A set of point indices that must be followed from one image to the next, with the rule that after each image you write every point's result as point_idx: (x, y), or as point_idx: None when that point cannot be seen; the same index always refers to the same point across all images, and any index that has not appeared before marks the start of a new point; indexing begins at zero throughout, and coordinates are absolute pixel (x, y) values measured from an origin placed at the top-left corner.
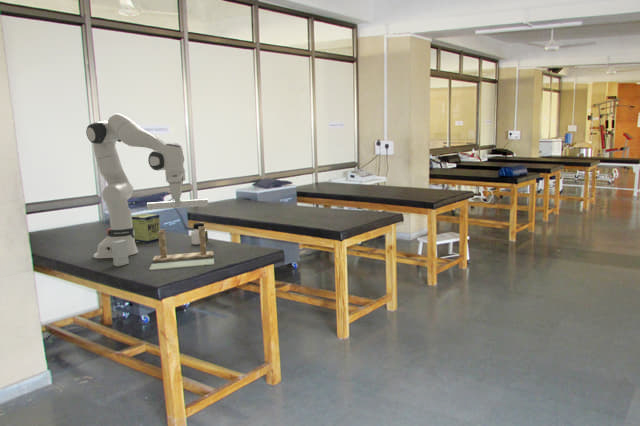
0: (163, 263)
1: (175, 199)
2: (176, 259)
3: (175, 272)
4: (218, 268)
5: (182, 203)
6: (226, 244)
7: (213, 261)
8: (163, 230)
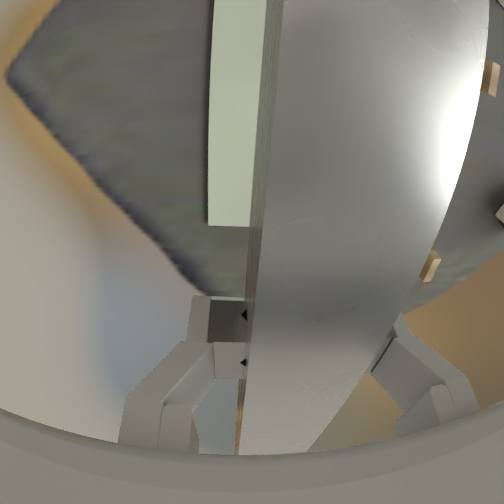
0: None
1: (127, 416)
2: None
3: (143, 90)
4: (155, 232)
5: (242, 387)
6: (450, 271)
7: (239, 224)
8: (485, 84)
